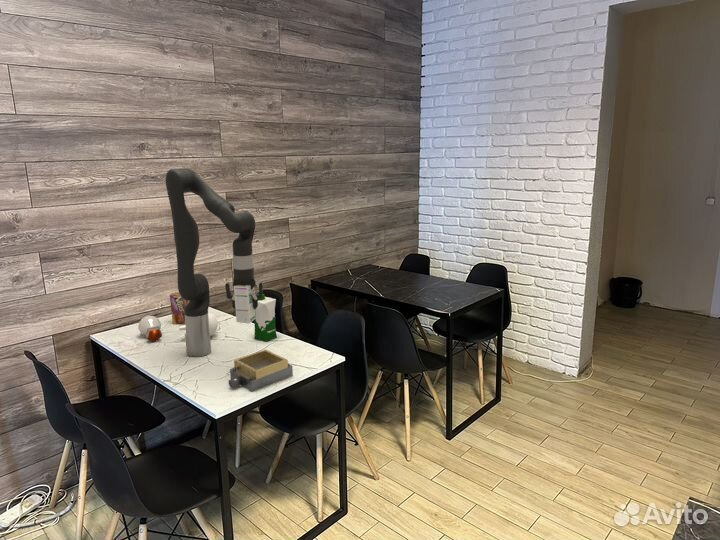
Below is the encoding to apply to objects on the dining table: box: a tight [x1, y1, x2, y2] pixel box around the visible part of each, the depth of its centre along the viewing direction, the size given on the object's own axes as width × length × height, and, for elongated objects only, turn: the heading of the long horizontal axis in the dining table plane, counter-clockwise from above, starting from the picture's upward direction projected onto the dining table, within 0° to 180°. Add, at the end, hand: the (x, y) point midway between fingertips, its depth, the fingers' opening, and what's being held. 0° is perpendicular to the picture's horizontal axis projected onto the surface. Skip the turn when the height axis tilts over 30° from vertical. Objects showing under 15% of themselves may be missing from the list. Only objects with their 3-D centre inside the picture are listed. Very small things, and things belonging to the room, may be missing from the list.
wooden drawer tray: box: [228, 349, 294, 392], centre depth 184 cm, size 22×14×7 cm, turn 135°
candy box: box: [169, 291, 190, 325], centre depth 242 cm, size 9×4×15 cm, turn 85°
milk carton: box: [253, 293, 278, 343], centre depth 222 cm, size 9×9×20 cm
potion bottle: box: [137, 315, 163, 343], centre depth 225 cm, size 9×10×15 cm
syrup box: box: [233, 285, 256, 324], centre depth 190 cm, size 6×6×14 cm
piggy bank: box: [178, 312, 219, 337], centre depth 225 cm, size 12×12×15 cm
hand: (245, 308), depth 191 cm, fingers closed on syrup box, 6 cm apart
